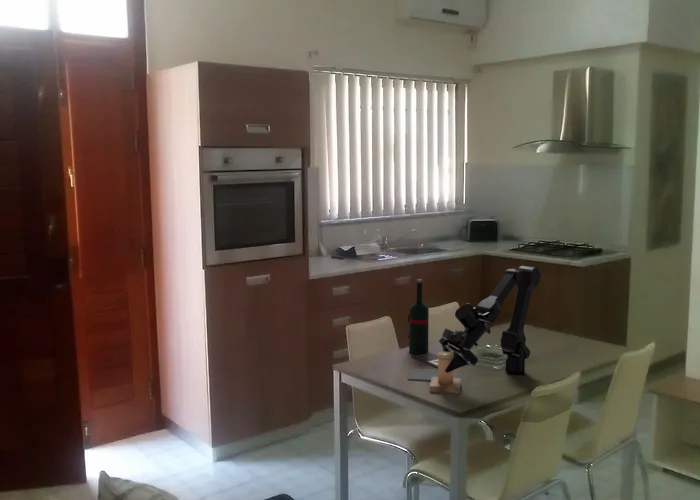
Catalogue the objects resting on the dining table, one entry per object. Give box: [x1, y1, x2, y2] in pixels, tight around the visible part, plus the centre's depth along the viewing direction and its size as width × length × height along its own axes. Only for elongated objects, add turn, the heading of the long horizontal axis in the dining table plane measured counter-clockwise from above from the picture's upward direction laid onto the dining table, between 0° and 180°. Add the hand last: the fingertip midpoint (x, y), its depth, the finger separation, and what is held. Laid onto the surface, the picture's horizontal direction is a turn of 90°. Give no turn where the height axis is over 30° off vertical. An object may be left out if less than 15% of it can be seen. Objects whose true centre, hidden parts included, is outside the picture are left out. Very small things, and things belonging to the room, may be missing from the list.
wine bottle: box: [407, 278, 430, 356], centre depth 272 cm, size 8×10×30 cm
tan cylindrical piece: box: [437, 350, 454, 385], centre depth 229 cm, size 6×6×10 cm
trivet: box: [429, 377, 462, 394], centre depth 230 cm, size 10×10×2 cm
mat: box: [407, 368, 438, 382], centre depth 243 cm, size 14×12×1 cm
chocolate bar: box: [411, 352, 438, 370], centre depth 260 cm, size 9×1×18 cm
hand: (442, 369), depth 229 cm, fingers closed on tan cylindrical piece, 5 cm apart
